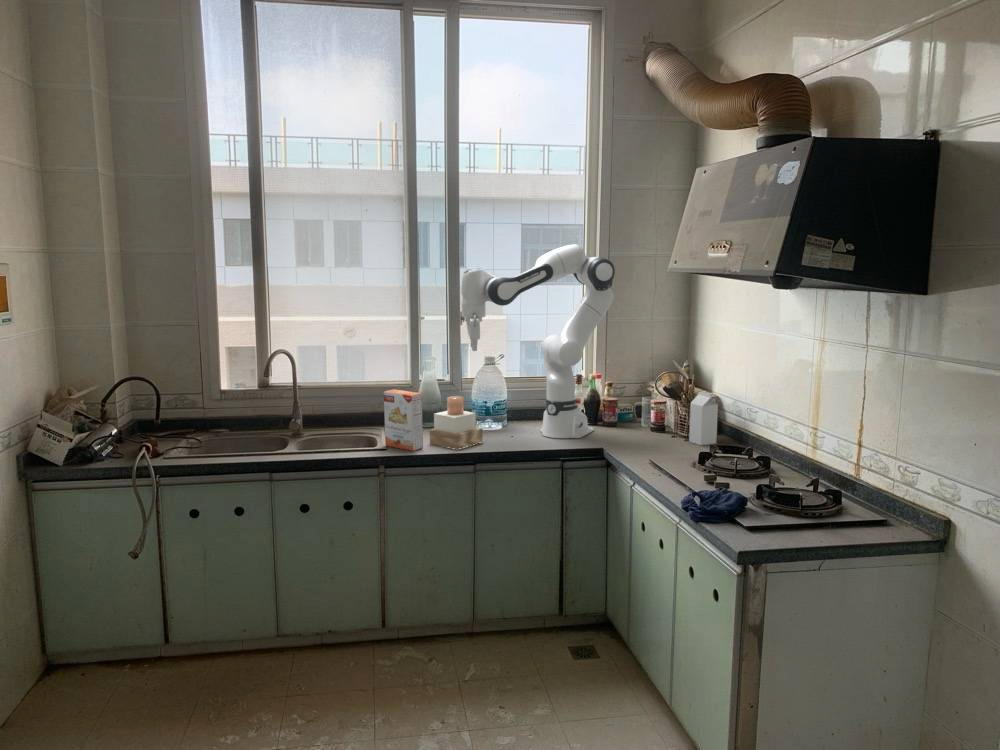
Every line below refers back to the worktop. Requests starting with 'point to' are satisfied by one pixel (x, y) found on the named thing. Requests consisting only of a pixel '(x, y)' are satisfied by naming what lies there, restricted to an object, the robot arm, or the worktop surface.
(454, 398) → the pink cylinder
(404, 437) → the cracker box
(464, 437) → the tower base
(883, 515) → the worktop surface
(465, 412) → the tower top
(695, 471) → the worktop surface
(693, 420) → the milk carton
